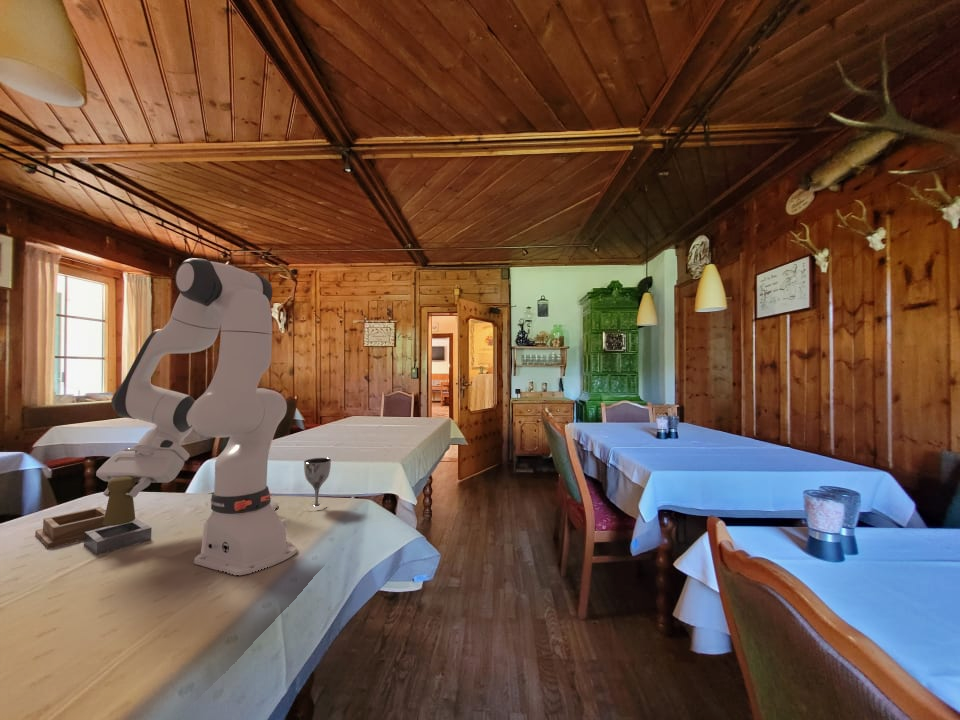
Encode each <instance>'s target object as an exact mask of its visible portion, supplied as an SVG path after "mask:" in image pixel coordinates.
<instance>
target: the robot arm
mask: <svg viewBox="0 0 960 720" xmlns="http://www.w3.org/2000/svg"><path fill="white" fill-rule="evenodd" d="M174 279H175V280H174V281H175V286H176V289H177V291H178V292H179V295H178V297H177V298H176V302H175V303H174V305H173V308H172V311H171V314H170V317H169V320H168V321H167V323H166V324H165V326H164V327H163V328H160V329H159V328H158V329H156V330H154V331H152V332H151V333H150V334H149V335H148V337H147V338H146V339H145V341H144V342H143V344H142V346H141V348H140V349H139V351H138V353H137V355H136V357H135V359H134V361H133V362H132V364H131V366H130V368H129V370H128V372H127V374H126V376H125V377H124V380H123V381H122V382H121V384H120V385H119V387H117V389H116V391H115V392H114V394H113V395H112V397H111V402H110V404H111V407H112V408H113V410H114V412H115V414H117V416H118V417H122V418H127V419H133V420H139V421H143V422H147V423H151V424H154V425H153V426H152V428H150V429H149V430H148V431H146V433H144V435H143V436H142V438H141V439H140V440H139V441H138V442H137V443H136V444H135V445H134V447H133V448H125V449H124V450H121V451H118V452H116V453H115V454H113V455H112V456H110V457H109V458H108V459H107V460H106V461H105V462H104V463H103V464H102V465H101V466H100V467H99V468H98V469H97V470H96V472H95V473H96V477H97V478H99V480H102V481H103V482H108V483H109V481H110V480H112V479H114V478H118V477H124V476H129V477H133V478H134V479H135V483H137V484H135V486H134V487H133V488H130V489H129V490H128V491H127V492H126V495H127V496H128V497H133V498H136V497H137V496H138V495H139V493H140V492H142V491H143V490H144V489H146V488H148V487H149V486H150V485H151V483H163V484H164V483H165V484H166V483H167V484H169V483H170V482H172V481H173V480H175V478H176V477H177V476H178V475H179V473H180V471H182V469H183V467H184V465H185V462H186V461H188V460H189V458H190V457H191V456H190V455H191V454H190V453H189V452H188V451H187V450H186V449H185V448H184V447H183V446H182V443H183V441H184V439H185V438H187V437H188V436H189V435H190V434H191V432H192V431H193V429H194V431H195V432H196V433H197V434H199V435H200V436H203V437H207V438H228V441H227V443H226V446H225V447H224V449H223V450H222V451H221V452H220V454H218V456H217V457H216V459H215V463H214V477H213V478H214V480H213V481H214V483H213V492H212V493H211V498H210V509H211V514H210V515H209V517H208V518H207V520H206V521H204V524H203V532H202V538H201V539H202V540H201V546H200V548H201V549H200V553H199V554H197V555H196V556H195V557H194V558H193V559H194V561H193V564H195V565H198V566H200V567H201V566H202V567H204V568H208V569H212V570H215V571H218V570H219V572H222V571H224V572H223V573H225V572H227V573H226V574H229V573H230V574H229V575H232V574H233V576H236V575H239V576H243V575H245V576H246V575H247V574H252V572H253V573H256V572H259V571H262V570H265V569H268V568H270V567H272V566H275V565H277V564H280V563H283V562H284V561H286V560H287V559H289V558H291V557H292V556H293V557H294V555H296V554H297V552H298V548H297V546H296V545H294V543H292V542H291V541H290V540H288V538H287V531H286V530H287V529H286V528H287V526H288V522H287V520H286V519H284V518H283V519H281V518H280V517H279V515H278V513H277V511H276V510H275V511H274V509H273V508H272V506H271V504H270V502H271V500H272V498H271V497H272V494H271V492H270V490H269V486H268V485H267V481H268V466H269V465H268V462H269V461H268V460H269V454H270V450H271V446H272V443H273V439H274V437H275V434H276V431H277V429H278V426H279V425H280V423H281V422H282V420H283V419H284V418H285V416H286V415H287V410H288V404H287V401H286V399H285V397H284V396H283V395H282V394H281V393H280V392H278V391H275V390H272V389H270V388H269V389H268V388H263V387H260V388H259V387H258V386H259V383H260V381H261V378H262V376H263V375H264V373H266V371H267V370H268V369H269V368H270V366H271V363H272V347H273V346H272V344H273V318H272V310H271V302H272V299H273V287H272V284H271V282H270V281H269V280H268V279H267V278H265V277H264V276H262V275H260V274H258V273H257V272H256V273H255V272H250V271H247V270H245V269H242V268H238V267H236V266H234V265H231V264H227V263H222V262H216V261H210V260H207V259H204V258H196V257H195V258H193V257H191V258H188V259H185V260H183V262H182V263H181V264H179V266H178V267H177V270H176V273H175V278H174ZM218 335H220V337H219V338H220V339H219V352H218V362H217V366H216V370H215V372H214V375H213V378H212V379H211V381H210V383H209V385H208V387H207V388H206V390H204V392H203V394H201V395H200V396H199V397H198V398H197V399H196V400H195V399H194V397H192V396H190V395H189V394H186V393H182V392H179V391H174V390H170V389H166V388H164V387H159V386H156V385H153V383H151V378H152V376H153V374H154V373H155V371H156V369H157V366H158V365H159V364H160V361H161V359H162V358H163V357H164V356H165V355H169V354H170V355H171V354H192V353H193V354H194V353H198V352H202V351H205V350H208V349H210V348H211V346H213V345H214V343H215V342H216V340H217V337H218ZM108 483H107V484H108ZM102 495H103V496H105V497H107V498H109V495H110V491H109V490H108V488H107V487H106V489H105V490H104V492H103V493H102ZM267 567H268V568H267ZM264 568H265V569H264ZM261 569H262V570H261ZM258 570H259V571H258ZM255 571H256V572H255Z"/></svg>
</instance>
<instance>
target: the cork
mask: <svg viewBox="0 0 960 720" xmlns="http://www.w3.org/2000/svg"><path fill="white" fill-rule="evenodd" d="M108 482H109V483H107V487H106V489H107V488H108V490H109V491H110V495H109V497H108V501H107V504H106V509H105V510H106V512H105V517H104V521H103V525H105V526H115V525H121V524H126V523H129V522H131V521H133V520H136V511H135V501H134V497H128V496H127V495H126V492H127V491H128V490H129V489H130V488H133V487H134V486H136V482H135V479H134V478H133V477H129V476H124V477H118V478H114V479H112V480H110V481H108Z"/></svg>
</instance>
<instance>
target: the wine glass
mask: <svg viewBox="0 0 960 720" xmlns="http://www.w3.org/2000/svg"><path fill="white" fill-rule="evenodd" d="M331 463H332V459H331V458H328V457H314V458H309V459H305V460H304V461H303V471H304V472H303V473H304V477H305V479H306V481H307V483H309V485H311V486H312V488H313V490H314V496H315V499H314V505H313V504H311V505H312V506H314V507H315V506H319V505H320V504H321V503H319V492H320V489H321V487H322V486H323V484H324V483H325V482H326V480H328V478H329V475H330V472H331V465H332V464H331Z"/></svg>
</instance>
